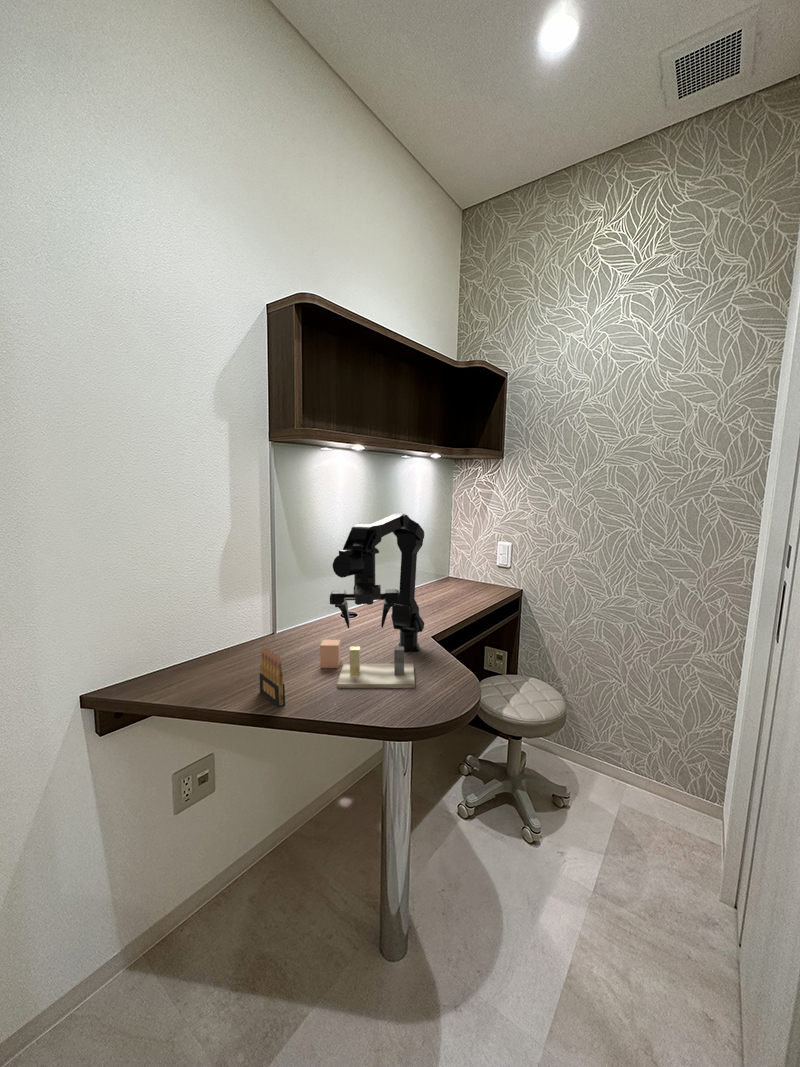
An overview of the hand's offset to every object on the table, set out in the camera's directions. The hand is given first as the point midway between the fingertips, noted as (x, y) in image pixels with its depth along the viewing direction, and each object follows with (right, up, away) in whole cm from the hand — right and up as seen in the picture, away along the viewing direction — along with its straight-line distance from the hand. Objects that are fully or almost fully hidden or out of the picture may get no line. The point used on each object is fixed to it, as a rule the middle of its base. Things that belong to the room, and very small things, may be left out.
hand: (365, 627), depth 125 cm
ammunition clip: (-22, -15, -14) cm, 30 cm away
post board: (+3, -13, -1) cm, 14 cm away
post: (-3, -13, -1) cm, 13 cm away
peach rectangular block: (-11, -12, +8) cm, 18 cm away
